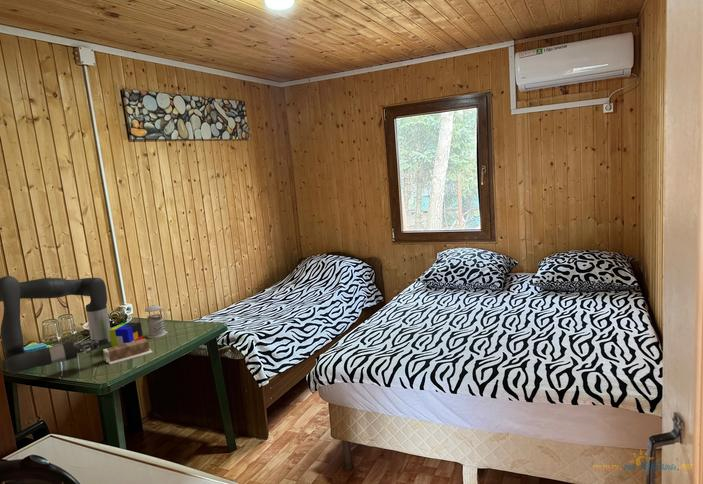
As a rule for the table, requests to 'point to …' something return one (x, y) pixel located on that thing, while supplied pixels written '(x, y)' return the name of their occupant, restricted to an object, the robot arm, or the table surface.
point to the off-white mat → (130, 357)
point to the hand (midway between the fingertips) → (107, 340)
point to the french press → (153, 329)
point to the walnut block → (125, 350)
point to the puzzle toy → (125, 333)
